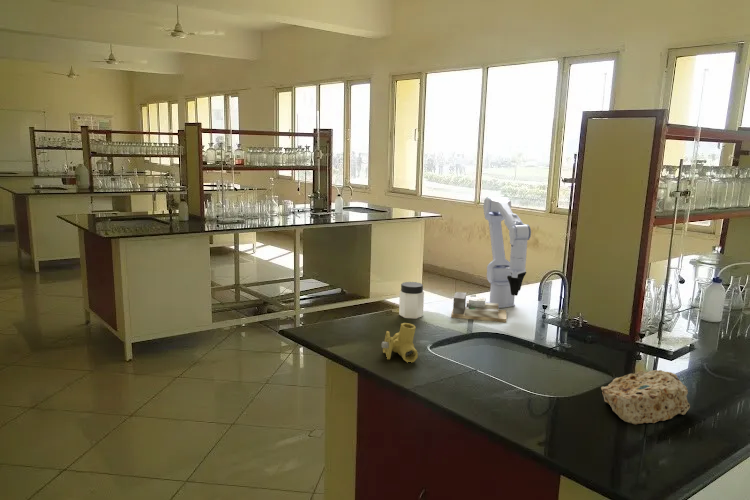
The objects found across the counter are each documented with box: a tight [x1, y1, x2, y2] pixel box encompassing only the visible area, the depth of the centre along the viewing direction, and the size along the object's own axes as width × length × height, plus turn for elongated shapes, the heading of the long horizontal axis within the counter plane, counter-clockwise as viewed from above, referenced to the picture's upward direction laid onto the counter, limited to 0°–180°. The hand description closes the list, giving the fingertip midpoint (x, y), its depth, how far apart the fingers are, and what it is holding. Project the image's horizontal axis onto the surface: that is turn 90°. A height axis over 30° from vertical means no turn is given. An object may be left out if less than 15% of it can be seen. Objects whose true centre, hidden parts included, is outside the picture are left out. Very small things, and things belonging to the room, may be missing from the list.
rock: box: [600, 369, 691, 425], centre depth 137 cm, size 21×14×10 cm
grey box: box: [468, 296, 486, 309], centre depth 210 cm, size 6×8×5 cm
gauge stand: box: [450, 291, 507, 323], centre depth 211 cm, size 20×12×7 cm, turn 77°
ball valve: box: [381, 322, 419, 363], centre depth 168 cm, size 13×10×10 cm
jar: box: [398, 281, 425, 320], centre depth 209 cm, size 9×8×12 cm
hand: (515, 292), depth 209 cm, fingers open, 7 cm apart
